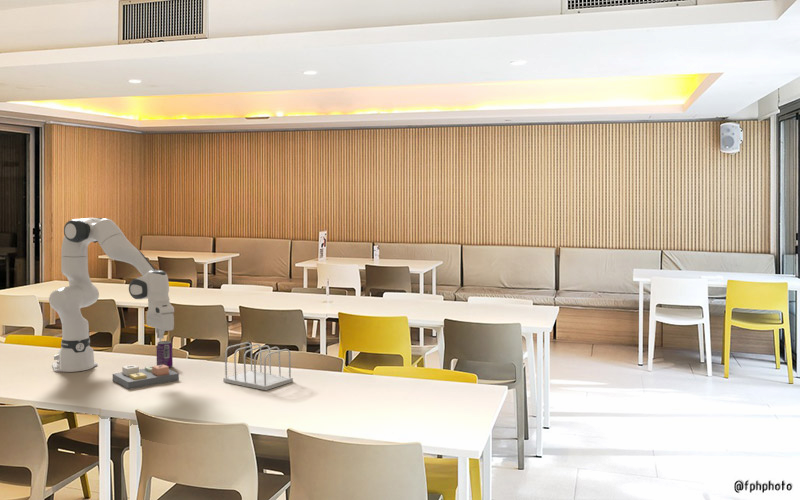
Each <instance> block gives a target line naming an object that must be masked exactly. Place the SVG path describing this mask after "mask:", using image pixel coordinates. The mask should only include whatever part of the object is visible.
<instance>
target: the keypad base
mask: <svg viewBox="0 0 800 500" xmlns="http://www.w3.org/2000/svg"><path fill="white" fill-rule="evenodd" d="M139 373H143V374H145V375H146V378H143V379H137V380H133V379H131V378H130V376H126V375H124V374H122V372H114V373H112V381H113V382H115V383H117V384H118V385H120V386H122V387H124V388H126V389H127V390H131V389H137V388H143V387H149V386H155V385H160V384H165V383H171V382H176V381H179V379H180V373H178V372H176V371H174V370H172V369H170V368H169V374H166V375H160V376H156V375H154V374H152V372H147V371H145V368H139Z"/></svg>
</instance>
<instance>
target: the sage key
mask: <svg viewBox="0 0 800 500" xmlns="http://www.w3.org/2000/svg"><path fill="white" fill-rule="evenodd" d="M144 369H145V371H147V372H152V365H150V366H146V367H144Z"/></svg>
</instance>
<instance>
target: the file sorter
mask: <svg viewBox="0 0 800 500" xmlns="http://www.w3.org/2000/svg"><path fill="white" fill-rule="evenodd" d="M246 344H247V345H246ZM248 344H249V345H248ZM242 345H246V346H244V347H239V348H237V349H235V351H234V355H233V356H234V358H233V359H234V362H233V363H234V375H230V376H228V360H227V359H228V358H227V357H228V356H227V355H228V354H227V352H228V350H229V349H230V348H234V347H238V346H242ZM256 346H258V347H256ZM253 347H254V348H253ZM266 347H267V348H266ZM249 348H250V349H249ZM263 348H266V349H263ZM244 349H248V350H246V351H245V352H244V354H243V372H241V373H238V374H237V352H238V351H240V350H244ZM258 349H259V351H258V352H256V353H255V355H254V358H253V351H255V350H258ZM262 349H263V350H262ZM274 349H277V350H276V351H271V350H274ZM284 351H288V376H282V373H281V369H282V368H281V352H284ZM248 352H250V370H248V371H247V370H246V369H247V368H246V367H247V366H246V355H247V354H248ZM264 352H268V353H266V355H265V356H264V357H263V360H264V361H263V364H264V365H263V368H262V353H264ZM277 353H278V374H279V375H278V374H273V373H272V359H271V356H272V355H273V354H277ZM258 354H259V371H257V369H256V368H257V367H256V365H257V362H256V360H257V355H258ZM267 357H268V361H269V364H268V365H269V373H267V368H266V367H267V365H266V362H267ZM291 360H292V359H291V351H290V350H289V349H288V348H284V349H280V347H278V346H273V347H270V346H269V345H267V344H265V345H262V346H261V344H260V343H254V344H252V343H251V342H249V341H246V342H241V343H237V344H234V345H230V346H228V347H226V349H225V352H224V361H225V363H224V364H225V365H224V367H225V368H224V369H225V371H224V372H225V374H224V375H225V377H224V378H223V383H228V384H232V385H237V386H238V385H239V386H242V387H247V388H253V389H258V390H261V391H268V390H271V389H275V388H277V387H281V386H283V385H287V384H289V383H292V382H294V380H293V379H294V378H293V377H292V376H291V371H292V370H291V368H292V367H291V364H292V363H291ZM262 369H263V370H264V371H263V372H262Z"/></svg>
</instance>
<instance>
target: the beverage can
mask: <svg viewBox="0 0 800 500" xmlns="http://www.w3.org/2000/svg"><path fill="white" fill-rule="evenodd" d="M156 344H157V345H156V366H158V365H166V366H168V367H169V369H170V368H171V367H172V366H173V363H174V362H173V344H172V341H170V340H161V341H157V343H156Z"/></svg>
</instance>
